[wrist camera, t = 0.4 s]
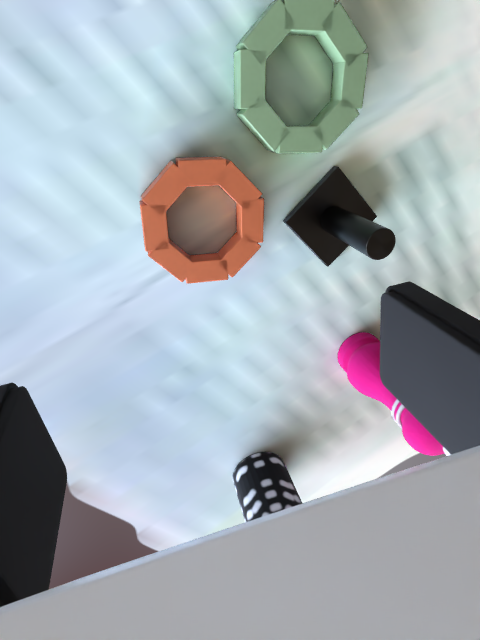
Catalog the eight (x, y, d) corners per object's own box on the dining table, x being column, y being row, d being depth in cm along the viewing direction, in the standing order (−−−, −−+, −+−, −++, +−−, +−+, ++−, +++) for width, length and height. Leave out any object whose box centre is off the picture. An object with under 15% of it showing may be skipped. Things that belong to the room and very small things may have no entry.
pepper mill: (377, 368, 59) (481, 473, 42) (331, 376, 58) (420, 489, 40) (384, 325, 56) (499, 420, 39) (336, 332, 54) (434, 434, 37)
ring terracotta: (116, 224, 41) (116, 230, 39) (197, 128, 39) (201, 129, 37) (205, 294, 47) (208, 303, 45) (279, 214, 45) (286, 219, 43)
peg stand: (282, 220, 45) (324, 249, 36) (334, 165, 44) (391, 180, 35) (324, 264, 49) (372, 300, 40) (372, 214, 48) (434, 239, 38)
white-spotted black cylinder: (237, 497, 64) (278, 639, 47) (228, 461, 60) (270, 602, 43) (286, 481, 65) (344, 614, 48) (281, 445, 61) (342, 575, 44)
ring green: (206, 81, 37) (211, 79, 35) (301, -34, 35) (312, -43, 33) (290, 176, 43) (299, 180, 41) (376, 83, 41) (389, 81, 39)
